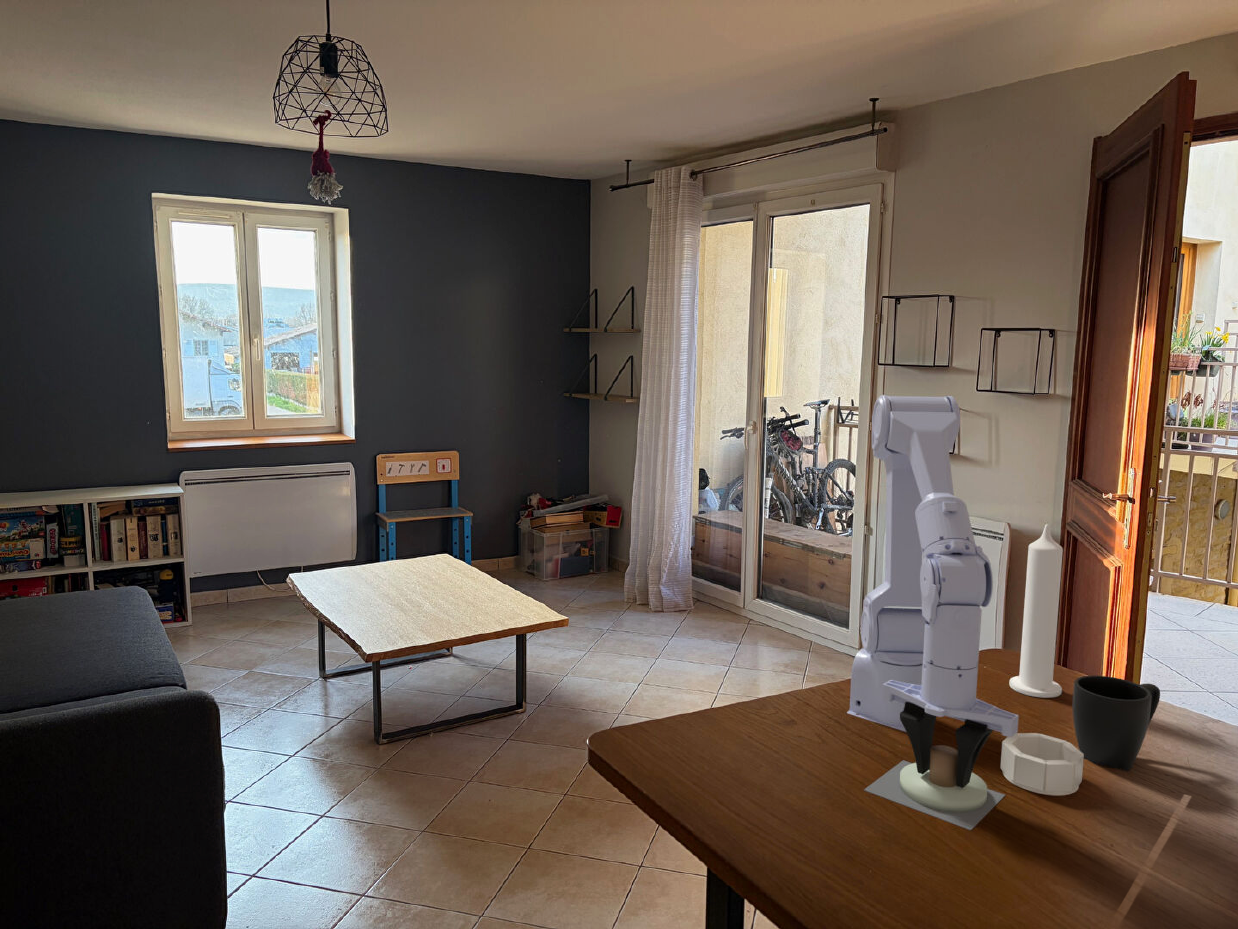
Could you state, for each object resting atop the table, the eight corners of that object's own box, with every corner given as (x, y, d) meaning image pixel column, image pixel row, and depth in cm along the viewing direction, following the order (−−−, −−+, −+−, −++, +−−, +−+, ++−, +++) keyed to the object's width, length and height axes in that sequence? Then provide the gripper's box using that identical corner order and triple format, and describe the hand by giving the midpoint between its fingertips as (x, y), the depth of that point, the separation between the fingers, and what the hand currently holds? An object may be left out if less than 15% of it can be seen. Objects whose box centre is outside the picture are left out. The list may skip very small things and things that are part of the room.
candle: (1057, 683, 132) (1070, 521, 129) (1065, 701, 126) (1078, 530, 123) (1007, 677, 135) (1018, 518, 131) (1011, 694, 128) (1023, 527, 125)
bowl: (992, 782, 101) (994, 748, 101) (1016, 760, 107) (1018, 727, 107) (1066, 807, 96) (1069, 771, 96) (1087, 782, 102) (1090, 748, 101)
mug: (1183, 766, 106) (1190, 691, 105) (1110, 782, 102) (1117, 704, 101) (1123, 738, 114) (1129, 668, 112) (1053, 752, 109) (1058, 679, 108)
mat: (863, 794, 98) (863, 789, 98) (902, 765, 106) (903, 760, 106) (970, 835, 90) (970, 830, 90) (1005, 800, 98) (1005, 795, 97)
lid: (885, 791, 98) (887, 751, 97) (920, 763, 105) (922, 726, 104) (967, 821, 92) (970, 779, 91) (999, 790, 99) (1001, 751, 98)
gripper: (872, 653, 98) (866, 768, 100) (1005, 688, 89) (996, 814, 90) (900, 639, 103) (894, 748, 105) (1028, 670, 94) (1019, 789, 95)
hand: (943, 777), depth 98 cm, fingers open, 4 cm apart
